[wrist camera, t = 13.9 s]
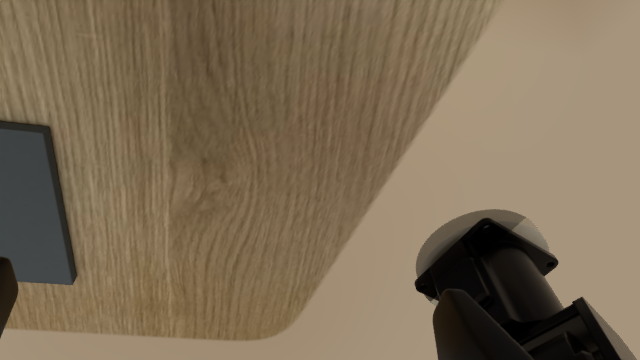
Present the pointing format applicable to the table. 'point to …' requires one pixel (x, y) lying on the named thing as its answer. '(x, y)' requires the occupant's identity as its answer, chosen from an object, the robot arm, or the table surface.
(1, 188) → the mat
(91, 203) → the table surface
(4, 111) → the table surface
